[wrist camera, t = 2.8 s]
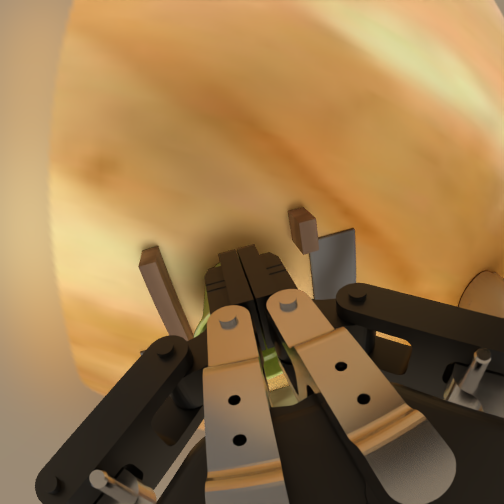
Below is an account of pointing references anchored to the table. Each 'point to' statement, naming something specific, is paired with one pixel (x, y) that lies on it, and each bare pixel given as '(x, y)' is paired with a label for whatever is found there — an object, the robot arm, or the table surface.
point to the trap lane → (306, 239)
